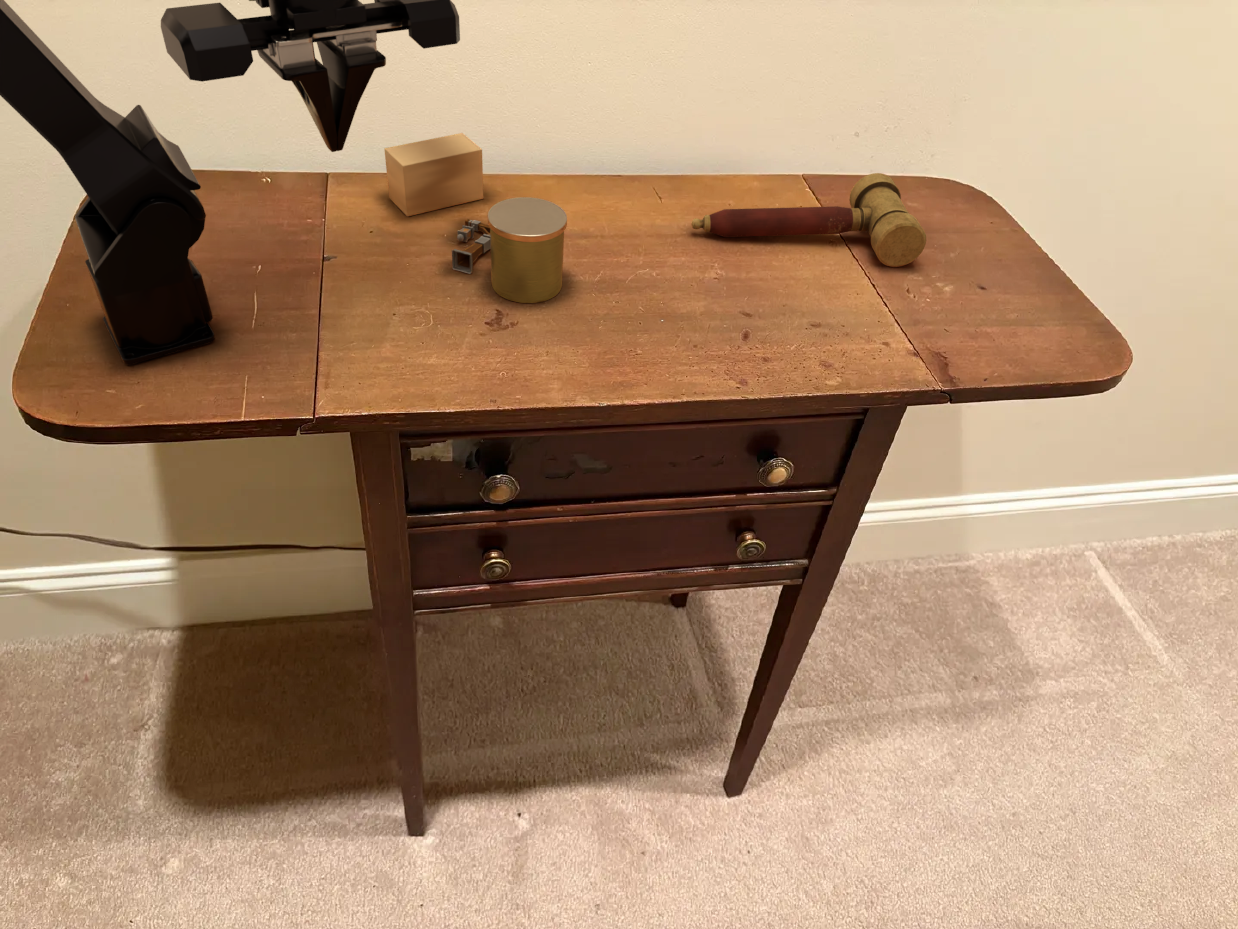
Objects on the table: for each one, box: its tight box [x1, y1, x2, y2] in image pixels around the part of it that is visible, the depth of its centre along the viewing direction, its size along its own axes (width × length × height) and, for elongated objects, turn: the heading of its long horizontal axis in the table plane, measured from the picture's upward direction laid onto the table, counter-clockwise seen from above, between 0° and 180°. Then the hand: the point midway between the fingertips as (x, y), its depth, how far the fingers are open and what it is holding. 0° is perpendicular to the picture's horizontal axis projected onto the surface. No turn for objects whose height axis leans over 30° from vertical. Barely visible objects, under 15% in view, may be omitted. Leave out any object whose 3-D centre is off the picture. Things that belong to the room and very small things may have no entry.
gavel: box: [690, 172, 927, 268], centre depth 87 cm, size 21×5×10 cm
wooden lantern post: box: [451, 218, 491, 275], centre depth 82 cm, size 2×8×4 cm
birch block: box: [383, 132, 484, 217], centre depth 87 cm, size 8×4×5 cm, turn 125°
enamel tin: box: [487, 196, 568, 304], centre depth 76 cm, size 6×6×6 cm
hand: (334, 149), depth 68 cm, fingers closed
